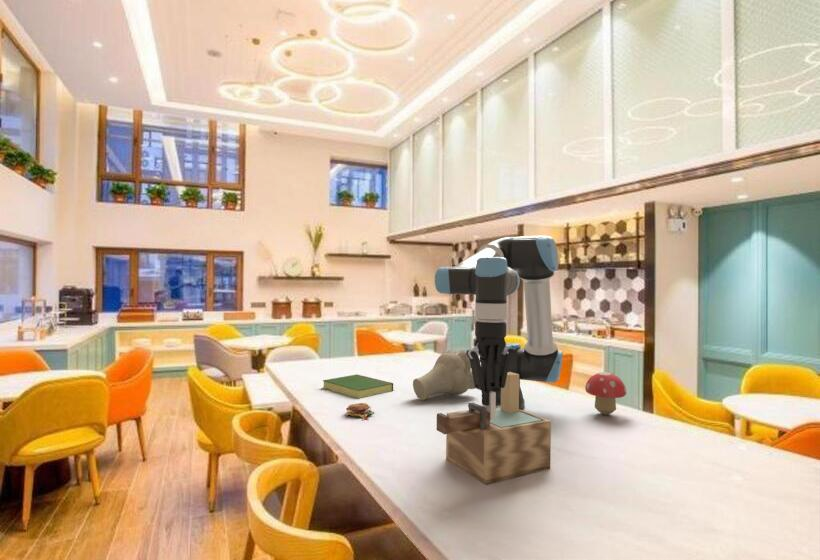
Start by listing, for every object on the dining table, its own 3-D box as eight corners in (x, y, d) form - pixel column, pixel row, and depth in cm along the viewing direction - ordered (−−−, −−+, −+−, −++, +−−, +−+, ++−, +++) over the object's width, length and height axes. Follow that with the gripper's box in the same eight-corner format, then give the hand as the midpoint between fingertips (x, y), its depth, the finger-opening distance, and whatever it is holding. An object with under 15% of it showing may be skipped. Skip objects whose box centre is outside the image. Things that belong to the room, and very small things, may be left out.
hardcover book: (393, 392, 196) (393, 383, 196) (358, 399, 182) (358, 390, 182) (355, 382, 213) (355, 374, 213) (321, 388, 200) (321, 380, 200)
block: (482, 422, 114) (482, 406, 114) (491, 426, 111) (491, 410, 111) (436, 430, 107) (436, 413, 107) (444, 434, 104) (444, 417, 104)
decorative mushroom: (578, 414, 164) (579, 372, 164) (593, 407, 174) (594, 367, 174) (618, 422, 155) (618, 377, 155) (631, 414, 165) (631, 372, 165)
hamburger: (333, 420, 155) (333, 402, 155) (353, 409, 168) (354, 393, 168) (370, 425, 150) (370, 407, 150) (388, 414, 163) (389, 397, 163)
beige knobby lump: (422, 374, 167) (479, 349, 182) (389, 356, 184) (444, 335, 199) (427, 426, 173) (482, 399, 188) (395, 404, 190) (448, 380, 205)
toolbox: (505, 446, 131) (506, 386, 131) (550, 468, 116) (551, 400, 116) (431, 461, 119) (432, 395, 119) (470, 488, 104) (471, 412, 104)
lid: (505, 411, 129) (505, 370, 129) (541, 425, 116) (542, 380, 116) (466, 417, 123) (467, 374, 123) (501, 433, 110) (501, 385, 110)
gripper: (501, 318, 119) (500, 410, 119) (459, 320, 113) (458, 417, 113) (521, 321, 112) (520, 418, 112) (478, 322, 106) (477, 426, 106)
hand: (489, 417), depth 112 cm, fingers closed
